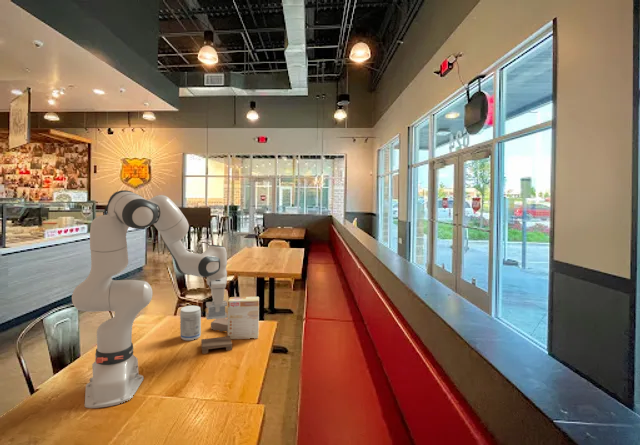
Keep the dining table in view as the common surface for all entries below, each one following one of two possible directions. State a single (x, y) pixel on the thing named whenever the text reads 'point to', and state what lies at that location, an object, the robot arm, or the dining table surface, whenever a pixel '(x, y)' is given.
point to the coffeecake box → (243, 317)
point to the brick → (220, 324)
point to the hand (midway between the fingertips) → (216, 309)
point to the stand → (216, 343)
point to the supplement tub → (190, 322)
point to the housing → (216, 315)
